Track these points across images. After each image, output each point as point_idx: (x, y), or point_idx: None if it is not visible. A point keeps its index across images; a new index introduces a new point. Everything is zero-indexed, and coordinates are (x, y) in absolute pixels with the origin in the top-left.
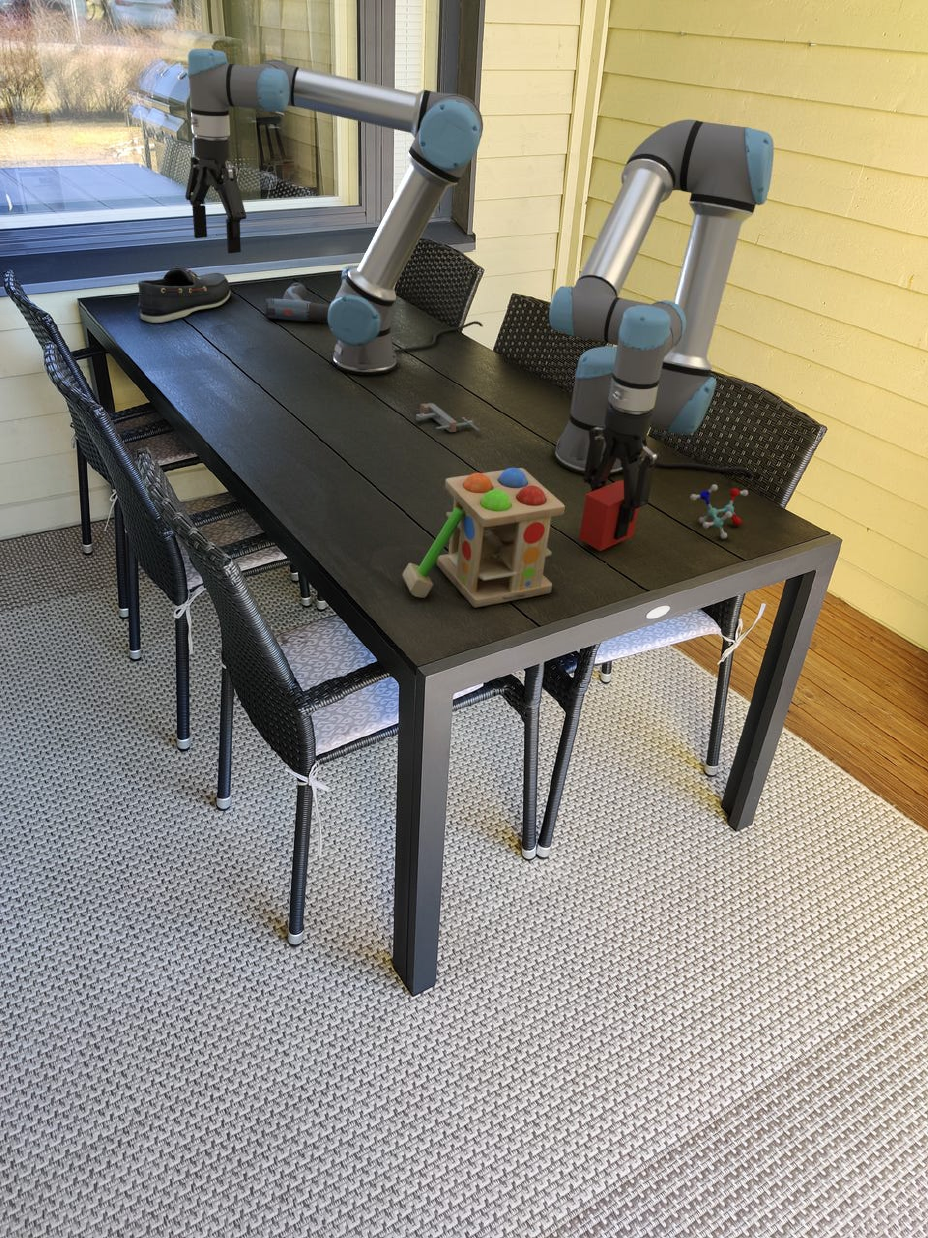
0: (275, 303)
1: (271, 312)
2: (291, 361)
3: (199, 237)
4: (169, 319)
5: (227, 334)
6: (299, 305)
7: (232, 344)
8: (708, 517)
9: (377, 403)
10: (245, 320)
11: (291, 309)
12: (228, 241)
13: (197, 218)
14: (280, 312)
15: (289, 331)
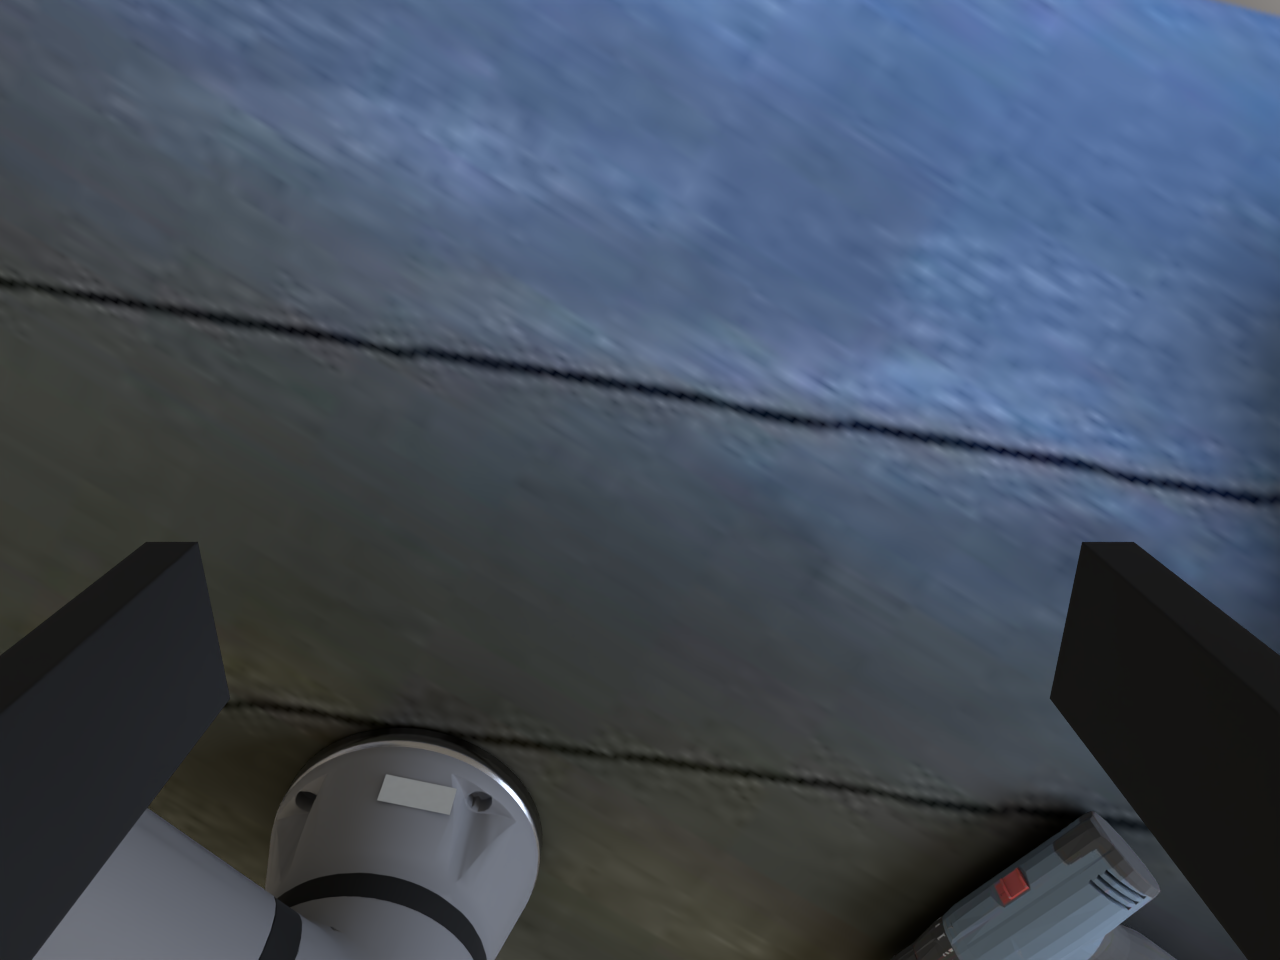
0: (1084, 888)
1: (1068, 838)
2: (588, 625)
3: (1072, 591)
4: None
5: (1043, 575)
6: (992, 950)
7: (917, 525)
8: None
9: None
10: None
11: (1005, 909)
12: (61, 626)
13: (1263, 762)
14: (1034, 864)
15: (906, 803)
